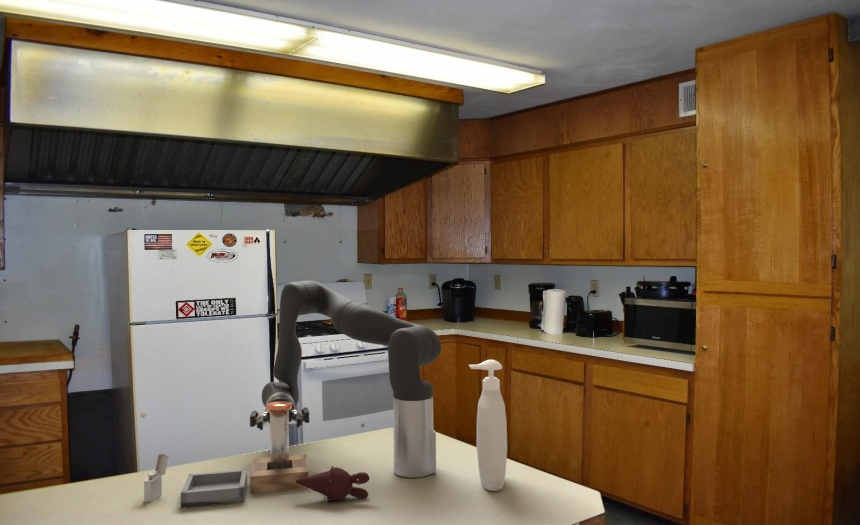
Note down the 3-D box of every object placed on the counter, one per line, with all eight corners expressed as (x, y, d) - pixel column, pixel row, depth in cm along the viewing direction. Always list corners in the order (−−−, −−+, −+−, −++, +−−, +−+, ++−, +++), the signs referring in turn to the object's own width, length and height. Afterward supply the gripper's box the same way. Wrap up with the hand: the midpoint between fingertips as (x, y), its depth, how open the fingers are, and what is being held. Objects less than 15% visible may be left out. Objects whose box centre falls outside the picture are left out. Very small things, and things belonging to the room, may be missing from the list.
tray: (247, 482, 133) (247, 469, 133) (244, 502, 123) (244, 487, 123) (189, 488, 131) (189, 474, 131) (180, 508, 120) (180, 493, 120)
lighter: (151, 502, 123) (151, 462, 123) (143, 502, 123) (143, 462, 123) (169, 489, 130) (169, 451, 130) (161, 489, 130) (161, 451, 130)
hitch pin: (292, 475, 138) (291, 400, 138) (293, 483, 133) (292, 406, 133) (267, 477, 137) (266, 402, 137) (266, 486, 131) (265, 408, 131)
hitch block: (306, 469, 142) (306, 454, 142) (308, 487, 130) (308, 471, 130) (253, 473, 139) (252, 458, 139) (250, 493, 127) (250, 476, 127)
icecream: (291, 476, 119) (368, 482, 119) (300, 455, 126) (371, 461, 126) (291, 507, 121) (366, 512, 121) (299, 484, 128) (369, 489, 128)
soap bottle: (468, 472, 139) (466, 354, 139) (503, 472, 139) (502, 354, 139) (472, 497, 124) (470, 365, 124) (511, 496, 124) (510, 365, 124)
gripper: (251, 396, 158) (248, 410, 142) (307, 392, 161) (310, 406, 146) (252, 424, 158) (248, 442, 142) (307, 420, 161) (310, 437, 146)
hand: (279, 424), depth 144 cm, fingers open, 8 cm apart
